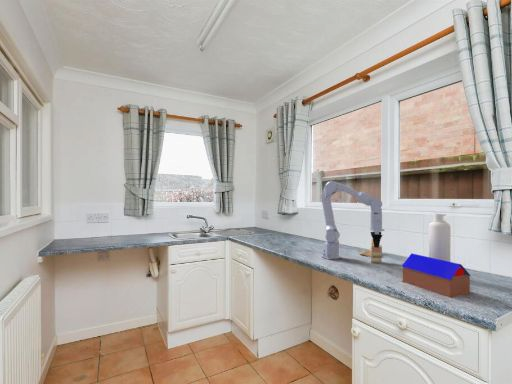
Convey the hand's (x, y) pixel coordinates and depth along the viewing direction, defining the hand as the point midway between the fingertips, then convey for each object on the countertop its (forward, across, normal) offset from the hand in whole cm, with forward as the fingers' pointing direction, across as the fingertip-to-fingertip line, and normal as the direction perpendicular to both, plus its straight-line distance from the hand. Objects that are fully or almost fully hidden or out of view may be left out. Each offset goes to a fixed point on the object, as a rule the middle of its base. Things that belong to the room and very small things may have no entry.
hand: (376, 246), depth 151 cm
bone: (+9, +20, +2) cm, 22 cm away
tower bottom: (+9, 0, 0) cm, 9 cm away
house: (+9, -36, -20) cm, 42 cm away
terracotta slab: (+3, 0, 0) cm, 3 cm away
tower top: (+6, 0, 0) cm, 6 cm away
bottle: (+9, -18, -25) cm, 32 cm away
